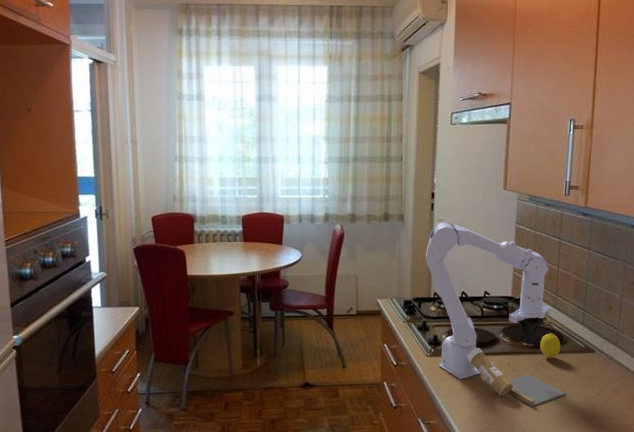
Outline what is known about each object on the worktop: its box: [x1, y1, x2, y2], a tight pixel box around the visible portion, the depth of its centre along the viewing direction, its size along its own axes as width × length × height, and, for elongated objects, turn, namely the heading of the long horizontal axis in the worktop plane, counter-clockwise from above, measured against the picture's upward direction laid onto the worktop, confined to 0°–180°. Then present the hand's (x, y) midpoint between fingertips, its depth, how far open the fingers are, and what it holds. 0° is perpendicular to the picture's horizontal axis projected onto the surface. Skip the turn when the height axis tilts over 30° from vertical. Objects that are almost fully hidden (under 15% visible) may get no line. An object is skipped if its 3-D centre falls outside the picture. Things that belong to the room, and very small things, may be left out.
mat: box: [507, 374, 566, 408], centre depth 139 cm, size 12×13×2 cm
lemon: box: [539, 332, 561, 359], centre depth 157 cm, size 6×6×8 cm
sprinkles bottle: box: [467, 347, 513, 397], centre depth 139 cm, size 5×5×14 cm
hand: (528, 342), depth 145 cm, fingers closed
